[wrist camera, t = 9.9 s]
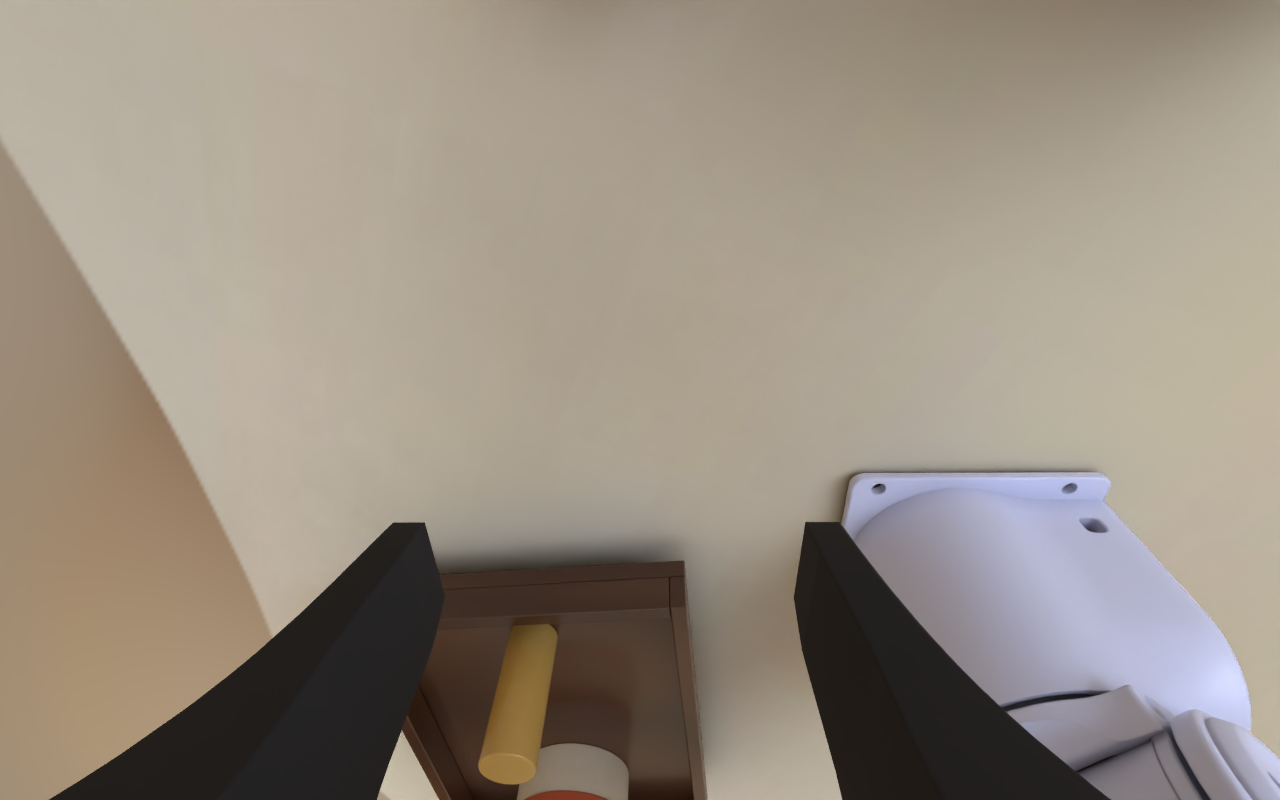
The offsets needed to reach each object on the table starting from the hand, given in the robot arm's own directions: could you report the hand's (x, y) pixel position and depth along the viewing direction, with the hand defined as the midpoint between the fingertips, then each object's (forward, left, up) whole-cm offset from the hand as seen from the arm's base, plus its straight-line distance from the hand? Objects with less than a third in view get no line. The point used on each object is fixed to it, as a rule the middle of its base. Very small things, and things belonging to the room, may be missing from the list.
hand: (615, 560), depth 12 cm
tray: (+4, +19, -9) cm, 21 cm away
